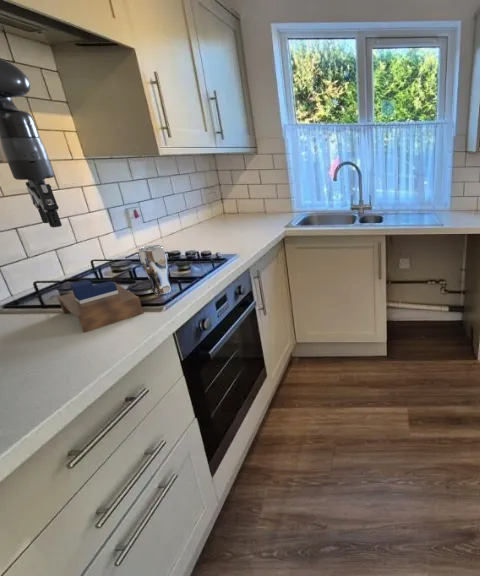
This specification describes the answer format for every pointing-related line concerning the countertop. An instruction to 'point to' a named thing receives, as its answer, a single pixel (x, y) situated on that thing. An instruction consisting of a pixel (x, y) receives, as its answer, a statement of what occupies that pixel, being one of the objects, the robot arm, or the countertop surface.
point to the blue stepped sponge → (92, 290)
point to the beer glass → (156, 268)
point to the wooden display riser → (102, 309)
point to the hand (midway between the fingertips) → (52, 224)
